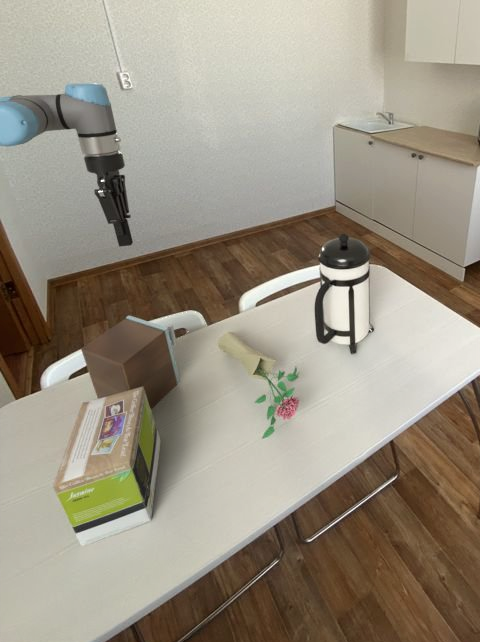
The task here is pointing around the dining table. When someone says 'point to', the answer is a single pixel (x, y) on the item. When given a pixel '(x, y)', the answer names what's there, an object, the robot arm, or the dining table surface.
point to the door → (172, 335)
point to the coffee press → (343, 292)
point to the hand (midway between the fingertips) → (126, 244)
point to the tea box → (110, 466)
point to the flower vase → (262, 376)
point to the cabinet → (130, 361)
